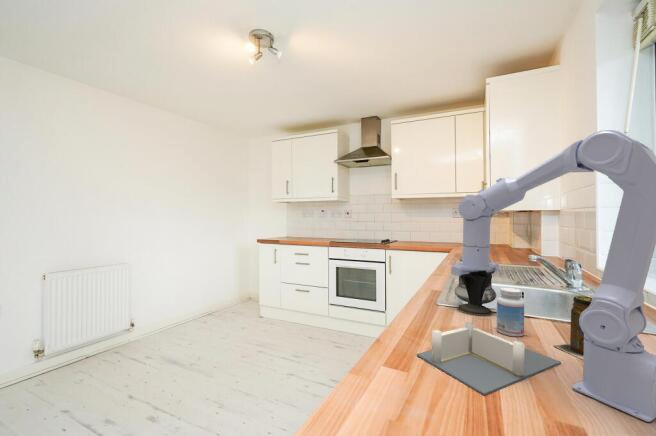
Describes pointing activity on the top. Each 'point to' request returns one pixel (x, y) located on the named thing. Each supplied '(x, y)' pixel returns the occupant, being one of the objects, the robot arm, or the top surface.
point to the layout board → (489, 370)
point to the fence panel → (499, 350)
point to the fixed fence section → (451, 343)
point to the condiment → (576, 328)
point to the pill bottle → (510, 312)
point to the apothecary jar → (463, 295)
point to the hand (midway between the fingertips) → (475, 303)
